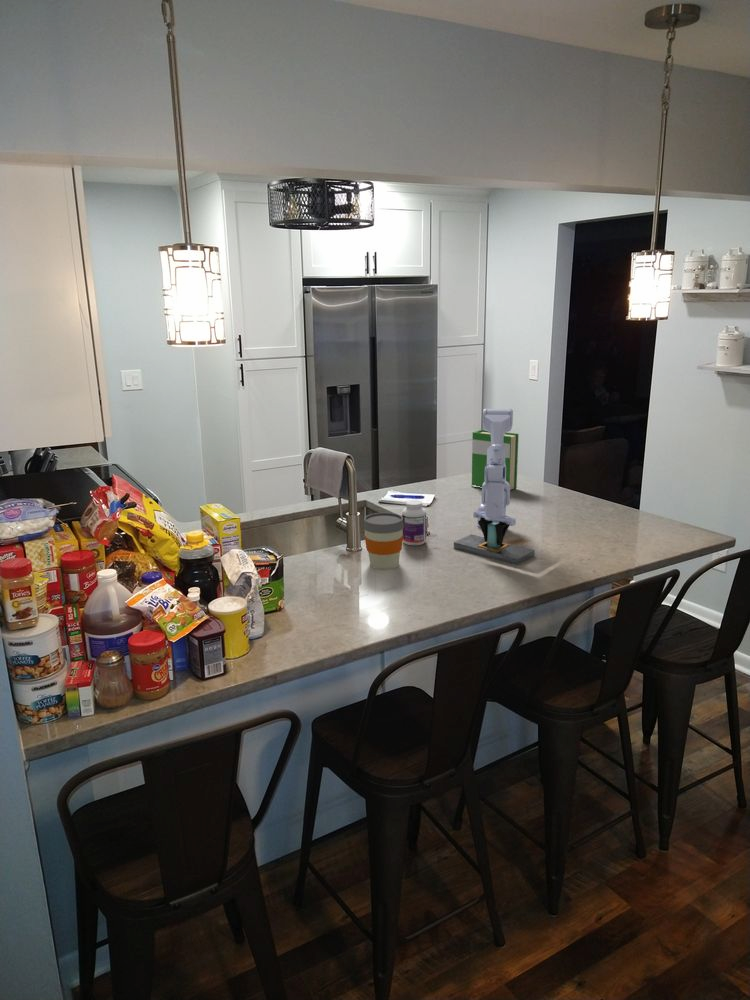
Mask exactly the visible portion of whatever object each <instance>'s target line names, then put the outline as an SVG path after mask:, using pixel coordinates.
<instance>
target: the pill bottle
mask: <svg viewBox="0 0 750 1000" xmlns="http://www.w3.org/2000/svg"><path fill="white" fill-rule="evenodd" d="M401 514H402V515H401V516H402V517H403V523H404V528H403V531H402V534H403V542H402V543H403V544H405V545H407V546H415V547H416V546H421V545H424V544H425V543H426V542H427V510H426V509H425V508H424V507H423V501H422V500H419V499H410V500H409V499H408V500H407V501H406V502H405V508H403V509H402V511H401Z"/></svg>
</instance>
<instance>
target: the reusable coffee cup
mask: <svg viewBox="0 0 750 1000" xmlns="http://www.w3.org/2000/svg"><path fill="white" fill-rule="evenodd" d="M403 528H404V523H403V517H402V515H400V514H398V513H395V512H393V513H392V512H377V513H376V512H374V513H371V514H367V515H365V516H364V518H363V530H364V532H365V533H364V540H365V543H364V544H365V548H366V551H367V552H368V557H369V563H370V567H372V568H374V569H378V570H389V569H390V570H391V569H394V568H396V567H398V566H399V565H400V554H401V551H402V549H403V543H404V542H403V534H402V531H403Z"/></svg>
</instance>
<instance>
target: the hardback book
mask: <svg viewBox="0 0 750 1000" xmlns="http://www.w3.org/2000/svg"><path fill="white" fill-rule="evenodd" d="M471 440H472V448H471V451H472V452H471V453H472V454H471V455H472V456H471V486H472V485H476V486H480V487H482V485H483V483H484V482H485V466H486V467H487V450H488V448H489V447H490V446H491V435H490V432H488V431H485V430H484V429H479V430H475V431H473V432H472V438H471ZM503 447H504V448H505V464H506V481H507V482H508V483H509V485H510V491H511V490H514V489H516V488H518V487H517V486H518V460H519V458H518V457H519V433H513V432H506V433H505V435H504V440H503ZM503 479H504V478H503ZM504 480H505V479H504ZM513 488H514V489H513ZM516 490H517V489H516Z"/></svg>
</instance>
